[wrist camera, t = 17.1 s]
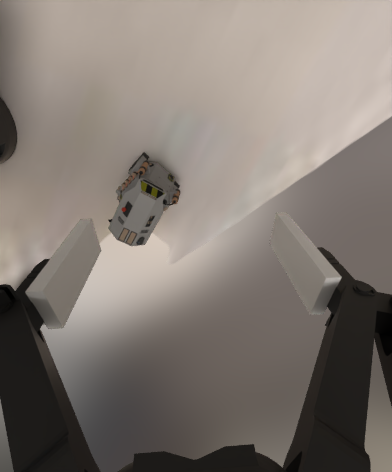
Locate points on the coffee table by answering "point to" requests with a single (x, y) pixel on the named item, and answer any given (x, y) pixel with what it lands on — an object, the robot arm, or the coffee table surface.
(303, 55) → the coffee table surface
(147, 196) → the figurine
